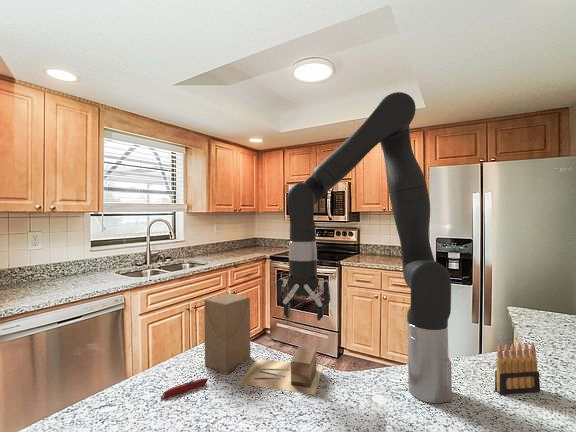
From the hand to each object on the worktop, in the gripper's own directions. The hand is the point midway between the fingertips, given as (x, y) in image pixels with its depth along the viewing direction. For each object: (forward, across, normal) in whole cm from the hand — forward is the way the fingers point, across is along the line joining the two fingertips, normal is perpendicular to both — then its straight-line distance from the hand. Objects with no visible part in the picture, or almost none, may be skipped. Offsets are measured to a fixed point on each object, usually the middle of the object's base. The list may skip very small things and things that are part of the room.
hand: (303, 318), depth 80 cm
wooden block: (+18, +25, -5) cm, 31 cm away
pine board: (+17, +6, 0) cm, 18 cm away
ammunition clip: (+17, -53, -9) cm, 56 cm away
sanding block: (+16, 0, 0) cm, 16 cm away
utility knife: (+18, +29, +11) cm, 36 cm away
